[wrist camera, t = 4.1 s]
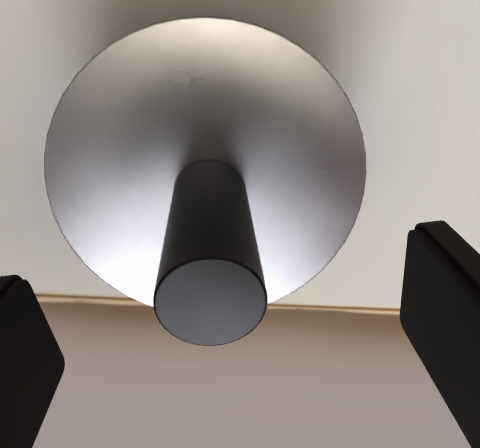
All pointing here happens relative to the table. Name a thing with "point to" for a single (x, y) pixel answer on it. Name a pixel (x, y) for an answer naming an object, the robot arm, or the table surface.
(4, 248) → the table surface
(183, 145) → the lid
